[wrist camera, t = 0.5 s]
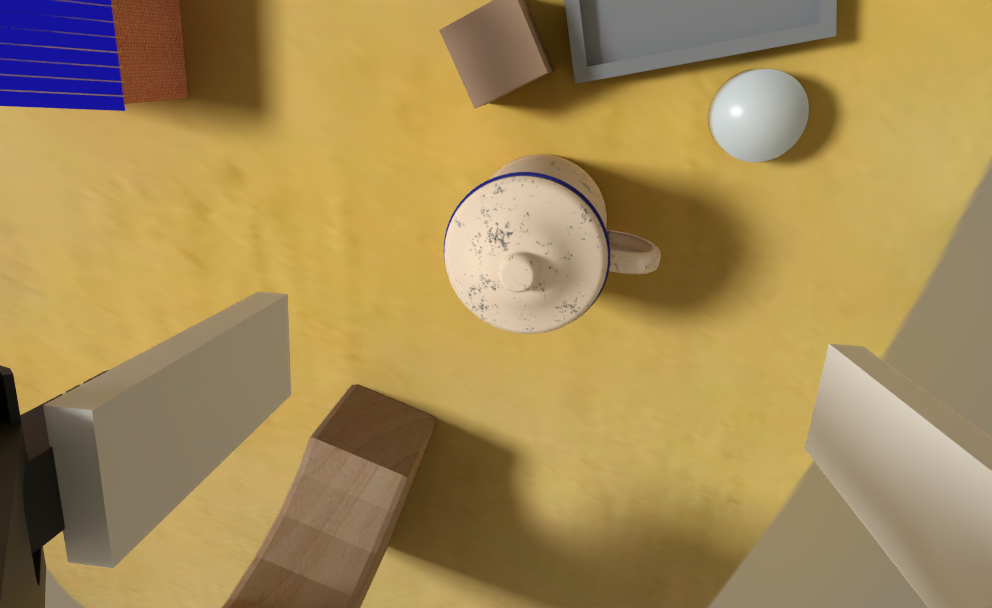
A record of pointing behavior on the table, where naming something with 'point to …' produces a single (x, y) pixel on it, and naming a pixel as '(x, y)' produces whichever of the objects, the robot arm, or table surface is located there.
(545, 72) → the walnut cube
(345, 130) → the table surface
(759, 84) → the white egg-shaped dome
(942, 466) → the robot arm
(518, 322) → the teacup with lid
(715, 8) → the tray
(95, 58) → the house
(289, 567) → the decorative block
